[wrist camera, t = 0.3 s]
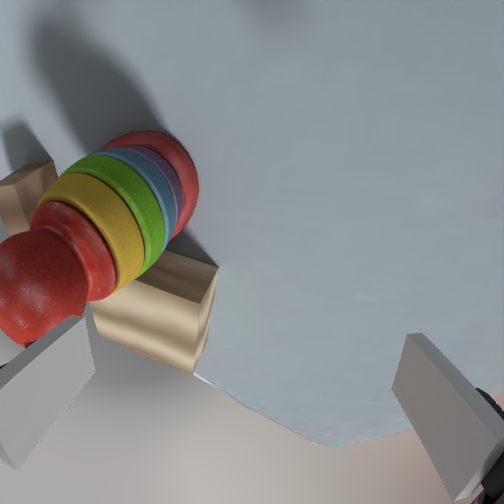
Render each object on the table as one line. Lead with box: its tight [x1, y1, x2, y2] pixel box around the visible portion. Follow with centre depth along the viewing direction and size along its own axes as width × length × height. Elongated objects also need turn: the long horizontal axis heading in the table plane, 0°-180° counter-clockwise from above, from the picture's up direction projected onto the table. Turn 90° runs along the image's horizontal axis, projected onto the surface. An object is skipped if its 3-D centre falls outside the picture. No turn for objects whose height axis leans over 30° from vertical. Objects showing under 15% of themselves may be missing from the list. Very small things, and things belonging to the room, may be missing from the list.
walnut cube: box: [0, 160, 58, 235], centre depth 27 cm, size 6×6×6 cm
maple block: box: [90, 249, 219, 375], centre depth 32 cm, size 13×13×5 cm
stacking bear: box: [0, 131, 199, 348], centre depth 18 cm, size 11×10×18 cm
